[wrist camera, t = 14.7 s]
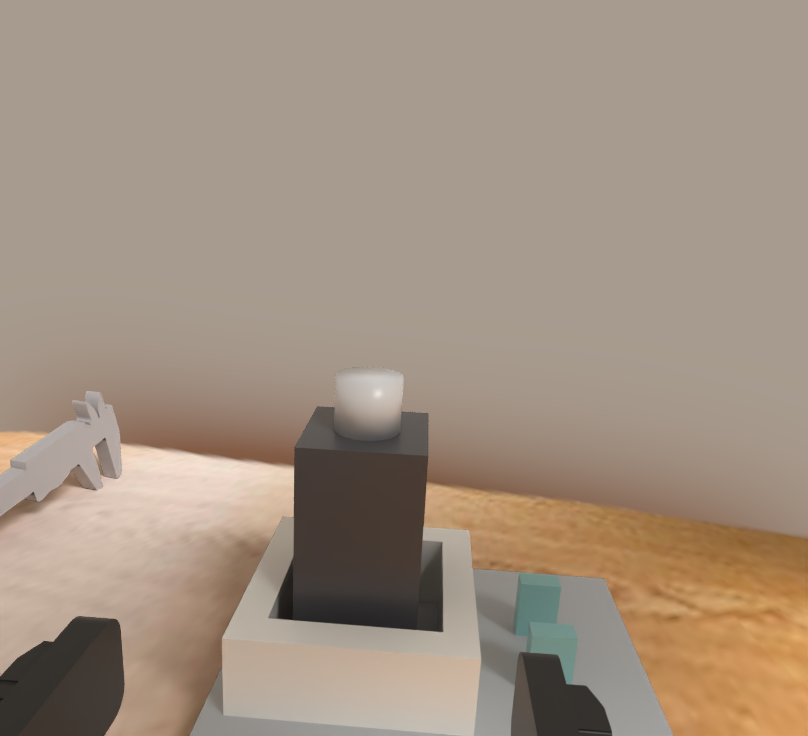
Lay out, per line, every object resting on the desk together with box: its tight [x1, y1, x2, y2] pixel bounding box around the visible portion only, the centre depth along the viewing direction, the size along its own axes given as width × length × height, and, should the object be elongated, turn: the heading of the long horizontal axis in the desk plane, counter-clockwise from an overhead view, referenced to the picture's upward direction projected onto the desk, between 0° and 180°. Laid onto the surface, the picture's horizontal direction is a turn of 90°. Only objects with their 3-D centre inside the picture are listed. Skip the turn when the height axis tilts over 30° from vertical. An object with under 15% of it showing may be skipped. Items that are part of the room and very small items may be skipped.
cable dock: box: [190, 517, 674, 736], centre depth 25 cm, size 16×12×4 cm
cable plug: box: [293, 367, 428, 630], centre depth 24 cm, size 4×4×11 cm
